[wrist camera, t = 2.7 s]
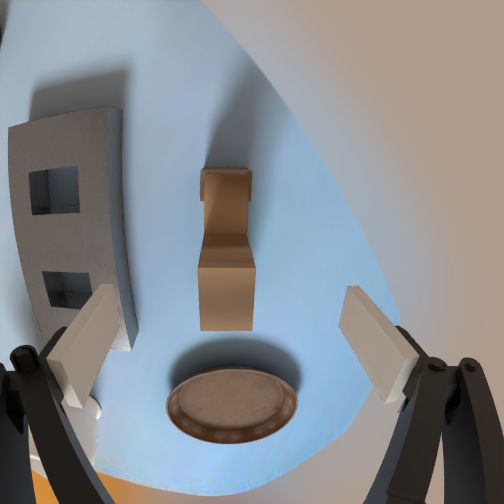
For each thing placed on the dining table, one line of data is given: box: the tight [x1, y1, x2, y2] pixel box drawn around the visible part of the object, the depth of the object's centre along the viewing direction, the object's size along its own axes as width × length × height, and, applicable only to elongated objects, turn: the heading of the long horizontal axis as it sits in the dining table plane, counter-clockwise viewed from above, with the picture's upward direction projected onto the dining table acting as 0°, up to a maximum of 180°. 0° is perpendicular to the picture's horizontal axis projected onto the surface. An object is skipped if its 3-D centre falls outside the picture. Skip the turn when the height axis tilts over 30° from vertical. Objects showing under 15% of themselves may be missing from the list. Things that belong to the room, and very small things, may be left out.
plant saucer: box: [166, 365, 298, 444], centre depth 35 cm, size 18×18×3 cm
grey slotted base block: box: [8, 106, 138, 351], centre depth 24 cm, size 24×12×4 cm, turn 177°
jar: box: [29, 396, 101, 479], centre depth 28 cm, size 11×10×15 cm
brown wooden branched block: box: [198, 167, 256, 331], centre depth 22 cm, size 12×4×13 cm, turn 177°
